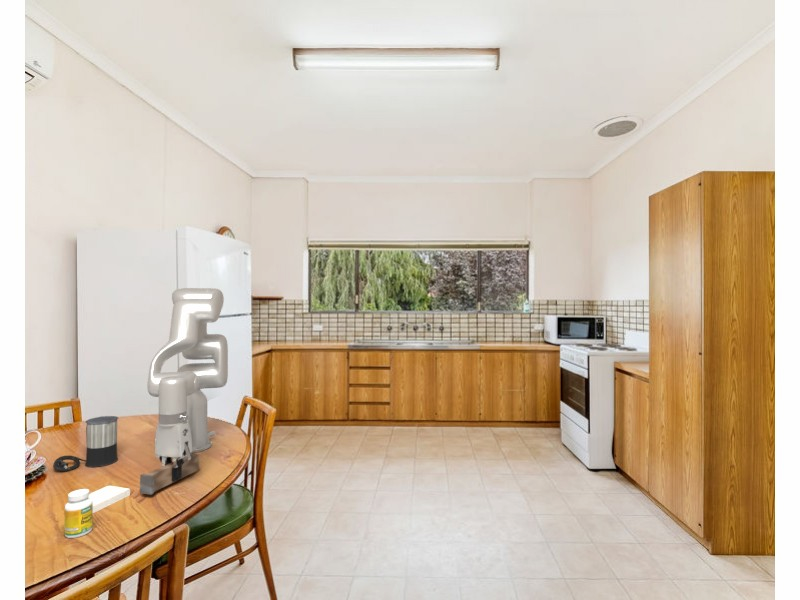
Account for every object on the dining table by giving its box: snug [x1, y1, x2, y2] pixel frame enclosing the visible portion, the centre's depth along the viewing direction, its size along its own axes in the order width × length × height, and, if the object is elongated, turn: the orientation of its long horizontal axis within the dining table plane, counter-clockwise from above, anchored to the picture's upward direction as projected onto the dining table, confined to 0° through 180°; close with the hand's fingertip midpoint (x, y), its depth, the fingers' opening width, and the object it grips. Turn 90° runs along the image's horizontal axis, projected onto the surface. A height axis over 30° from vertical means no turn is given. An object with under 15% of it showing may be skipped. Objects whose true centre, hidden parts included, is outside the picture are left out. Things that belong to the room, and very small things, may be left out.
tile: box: [89, 484, 131, 514], centre depth 116 cm, size 2×8×12 cm
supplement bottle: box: [64, 488, 94, 539], centre depth 101 cm, size 5×5×10 cm
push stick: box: [139, 452, 200, 496], centre depth 128 cm, size 19×4×5 cm, turn 164°
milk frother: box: [52, 415, 119, 472], centre depth 143 cm, size 14×16×15 cm
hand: (172, 478), depth 128 cm, fingers closed on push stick, 2 cm apart
